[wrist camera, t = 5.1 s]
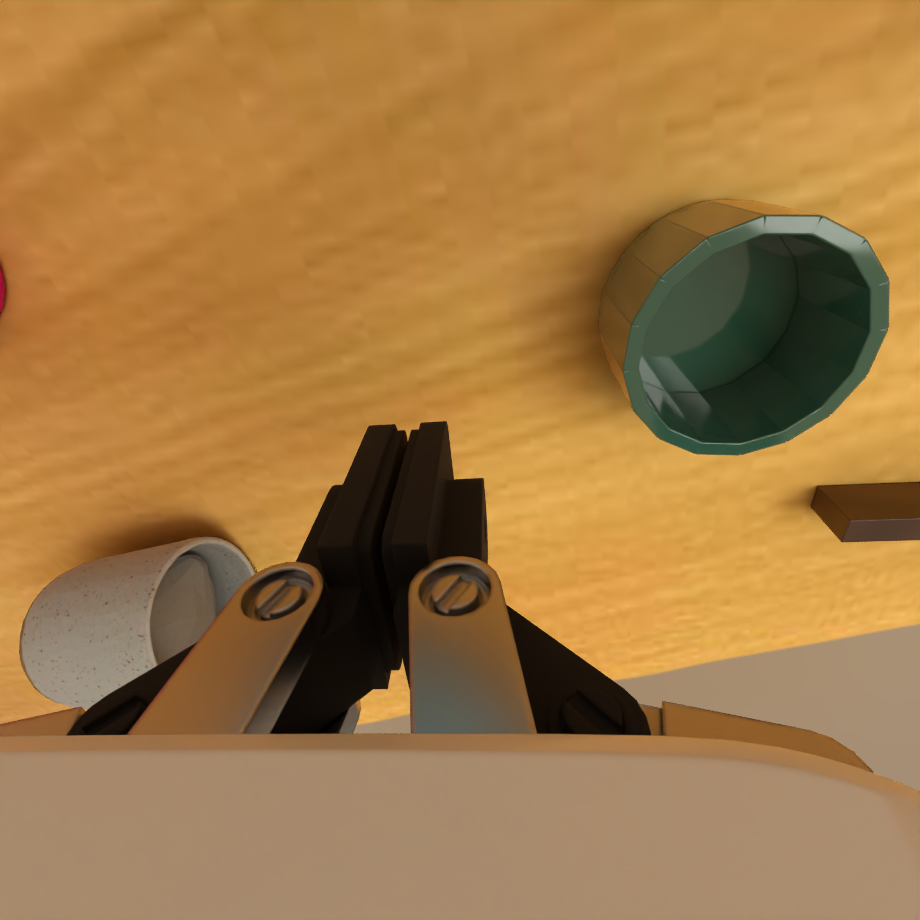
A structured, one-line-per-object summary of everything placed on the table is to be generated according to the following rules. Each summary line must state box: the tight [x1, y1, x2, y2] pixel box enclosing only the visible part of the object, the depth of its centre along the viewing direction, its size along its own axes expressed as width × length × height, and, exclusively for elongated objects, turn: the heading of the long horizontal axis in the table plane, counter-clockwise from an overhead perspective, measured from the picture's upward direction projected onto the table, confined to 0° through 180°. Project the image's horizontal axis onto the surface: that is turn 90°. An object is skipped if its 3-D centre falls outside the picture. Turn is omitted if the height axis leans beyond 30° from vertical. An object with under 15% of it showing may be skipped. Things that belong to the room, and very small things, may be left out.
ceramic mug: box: [19, 537, 256, 709], centre depth 26 cm, size 11×8×8 cm
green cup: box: [599, 199, 889, 455], centre depth 17 cm, size 7×7×5 cm
